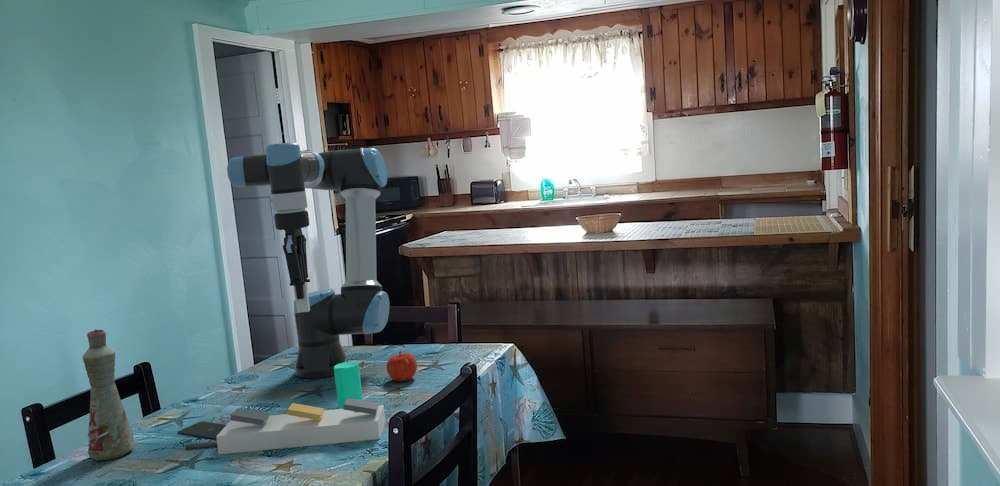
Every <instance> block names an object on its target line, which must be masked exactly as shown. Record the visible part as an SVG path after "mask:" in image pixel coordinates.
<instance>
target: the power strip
mask: <svg viewBox="0 0 1000 486" xmlns="http://www.w3.org/2000/svg"><path fill="white" fill-rule="evenodd" d="M385 415H386V414H385V407H384V404H379V406H378V410H377V413H376V415H374V414H367V413H361V412H355V411H349V410H343V409H338V408H336V409H328V410H327V409H326V410H325V409H324V413H323V415H322V417H321V419H320V420H315V419H309V418H303V417H297V416H291V415H287V413H286V414H285V413H283V414H282V413H281V414H273V415H269V419H268V420H267V421H266V423H265V424H264V425H257V424H251V423H244V422H238V421H232V420H230V421H229V422H228V423H227V424H225V425H226V426H225V427H224V428H223V430H222V431H221V432H220V433H219V434H218V435H217V436H216V438H217V440H215V441H207V442H197V443H187V444H185V445H184V449H186V450H189V449H191V450H192V449H201V448H203V449H204V448H211V447H212V448H213V447H217V451H218V455H226V454H237V453H247V452H249V453H250V452H258V451H260V452H261V451H268V450H269V451H270V450H279V449H280V450H282V449H291V448H299V447H300V448H301V447H311V446H320V445H331V444H333V445H334V444H343V443H353V442H362V441H363V442H364V441H375V440H380V439H381V437H382V434H383V431H384V428H385V424H386V416H385Z"/></svg>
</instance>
